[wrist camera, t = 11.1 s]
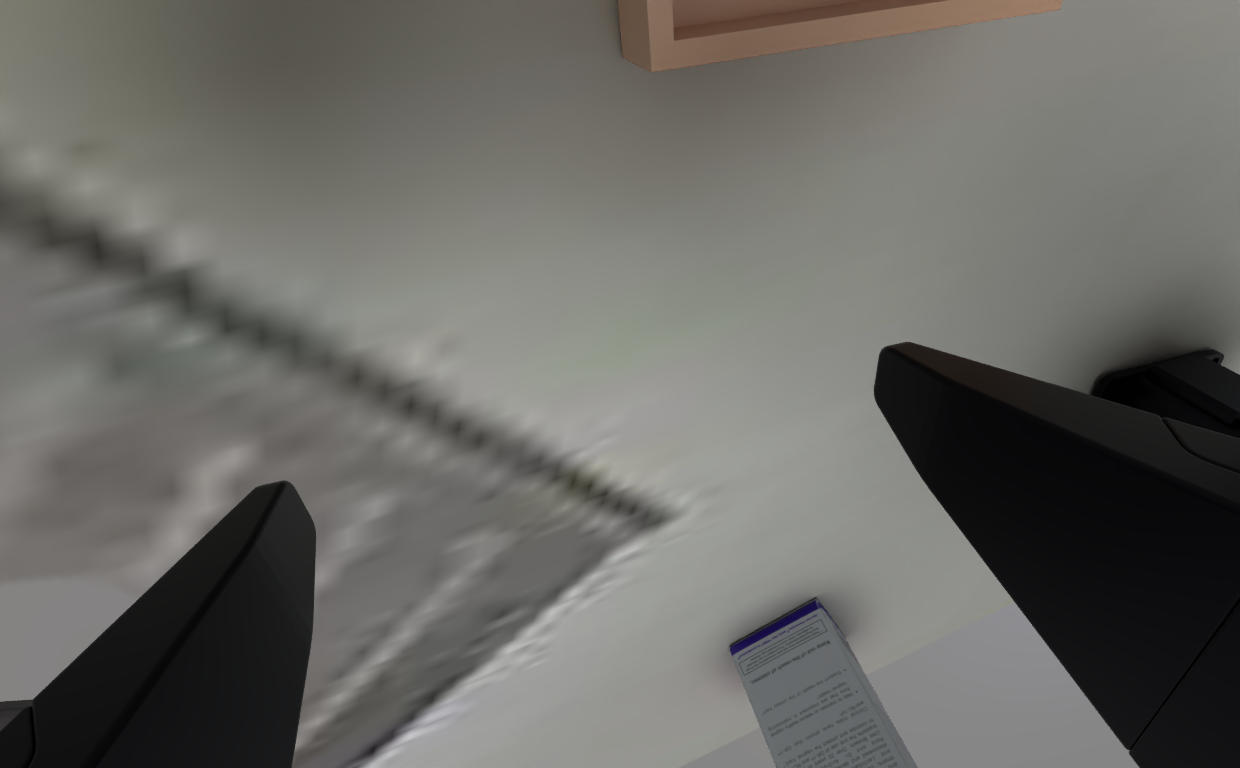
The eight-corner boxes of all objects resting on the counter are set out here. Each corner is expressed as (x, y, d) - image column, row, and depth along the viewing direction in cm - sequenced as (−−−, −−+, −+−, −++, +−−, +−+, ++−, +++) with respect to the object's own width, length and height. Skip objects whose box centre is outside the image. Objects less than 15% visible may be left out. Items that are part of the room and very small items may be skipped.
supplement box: (723, 647, 35) (823, 893, 26) (816, 595, 34) (953, 828, 25) (762, 687, 38) (863, 917, 29) (847, 640, 38) (979, 861, 28)
